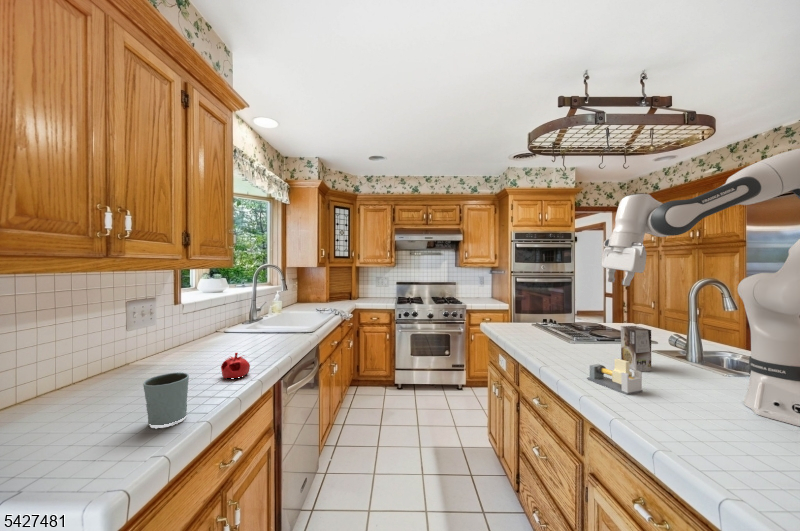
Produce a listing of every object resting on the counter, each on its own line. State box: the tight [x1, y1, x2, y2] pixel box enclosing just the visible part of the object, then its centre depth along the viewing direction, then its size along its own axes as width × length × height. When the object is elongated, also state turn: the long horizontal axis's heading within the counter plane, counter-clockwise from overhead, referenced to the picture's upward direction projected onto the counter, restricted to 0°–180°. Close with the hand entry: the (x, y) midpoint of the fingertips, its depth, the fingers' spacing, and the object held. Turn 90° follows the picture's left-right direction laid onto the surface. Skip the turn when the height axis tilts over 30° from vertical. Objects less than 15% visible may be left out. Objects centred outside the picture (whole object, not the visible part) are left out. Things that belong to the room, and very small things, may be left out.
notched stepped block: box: [611, 358, 633, 384], centre depth 111 cm, size 4×4×7 cm
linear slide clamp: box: [586, 363, 643, 396], centre depth 114 cm, size 15×7×7 cm, turn 18°
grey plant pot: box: [142, 372, 190, 425], centre depth 90 cm, size 10×10×12 cm
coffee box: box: [620, 325, 652, 372], centre depth 132 cm, size 9×6×16 cm
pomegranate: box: [220, 352, 251, 379], centre depth 126 cm, size 10×10×9 cm
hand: (617, 283), depth 110 cm, fingers open, 8 cm apart
